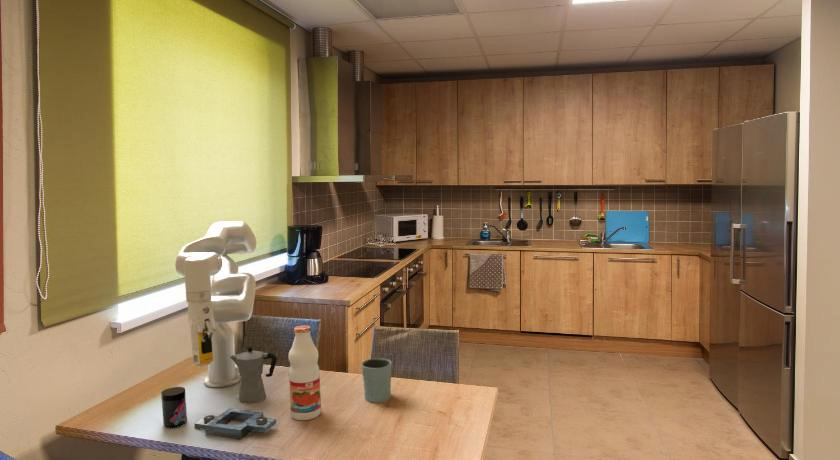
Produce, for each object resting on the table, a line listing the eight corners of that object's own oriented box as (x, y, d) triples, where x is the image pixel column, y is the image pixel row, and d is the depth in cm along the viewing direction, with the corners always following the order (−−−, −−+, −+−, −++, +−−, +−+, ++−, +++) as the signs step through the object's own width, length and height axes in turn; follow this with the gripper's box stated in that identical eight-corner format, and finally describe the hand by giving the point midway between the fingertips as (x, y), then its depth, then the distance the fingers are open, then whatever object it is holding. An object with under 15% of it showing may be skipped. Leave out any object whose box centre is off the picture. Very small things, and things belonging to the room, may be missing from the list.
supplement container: (165, 431, 168) (163, 397, 167) (161, 422, 174) (159, 390, 173) (189, 425, 172) (187, 392, 171) (184, 417, 178) (182, 385, 177)
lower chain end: (187, 432, 167) (187, 424, 167) (213, 415, 179) (212, 408, 178) (241, 439, 162) (240, 431, 162) (264, 421, 174) (263, 414, 173)
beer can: (217, 360, 185) (214, 316, 183) (204, 367, 180) (201, 321, 178) (202, 358, 187) (199, 314, 185) (189, 365, 182) (185, 319, 180)
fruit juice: (317, 405, 184) (314, 321, 181) (324, 417, 176) (321, 329, 173) (288, 411, 181) (284, 325, 178) (293, 423, 172) (289, 333, 169)
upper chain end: (205, 430, 165) (204, 422, 165) (229, 412, 177) (229, 405, 177) (259, 437, 160) (259, 429, 160) (281, 419, 172) (281, 411, 172)
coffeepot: (228, 404, 186) (225, 351, 184) (236, 393, 196) (233, 342, 194) (275, 403, 187) (273, 350, 185) (281, 392, 196) (279, 341, 194)
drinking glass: (374, 406, 183) (373, 370, 182) (356, 397, 191) (355, 362, 190) (398, 397, 190) (397, 362, 189) (380, 389, 198) (379, 355, 196)
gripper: (222, 298, 177) (225, 353, 179) (199, 289, 189) (202, 341, 192) (198, 302, 172) (202, 360, 174) (176, 293, 184) (180, 346, 187)
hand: (202, 349), depth 183 cm, fingers closed on beer can, 6 cm apart
